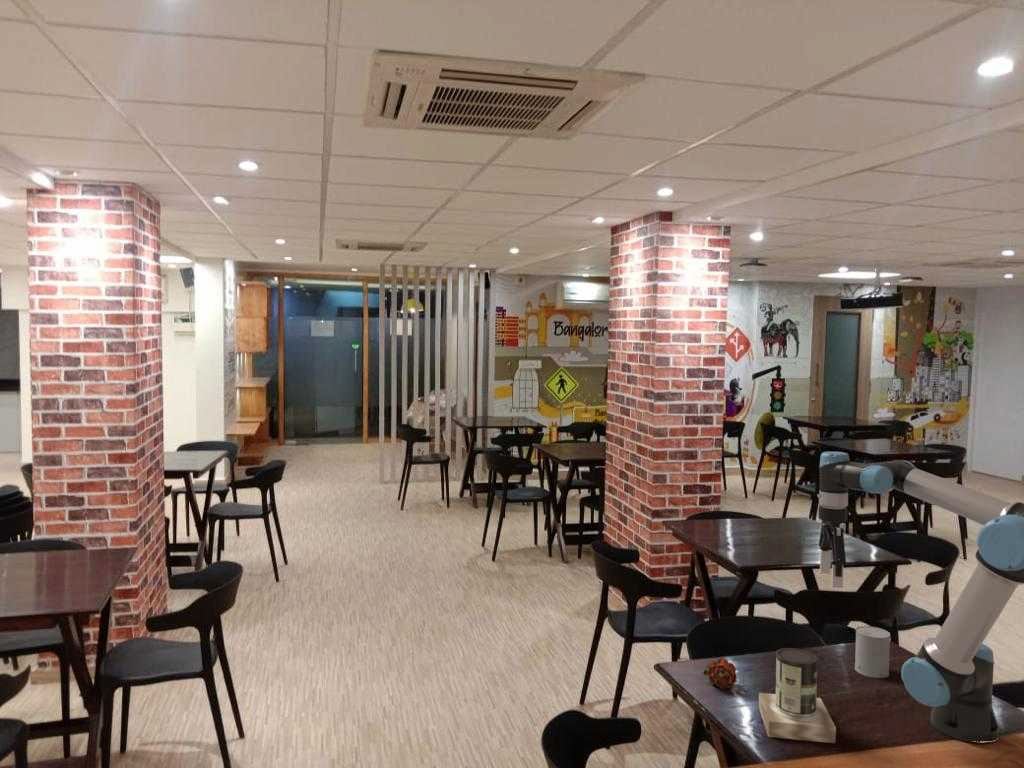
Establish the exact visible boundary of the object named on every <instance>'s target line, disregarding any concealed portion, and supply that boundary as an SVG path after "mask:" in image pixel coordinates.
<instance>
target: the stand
mask: <svg viewBox="0 0 1024 768" xmlns="http://www.w3.org/2000/svg"><path fill="white" fill-rule="evenodd" d="M775 701H776V693H767V692H766V693H764V692H758V710H759V712H760V713H759V714H760V715H761V718H762V721H763V725H764V727H765V730H766V733H767V736H768V737H769V738H775V739H776V738H779V739H786V740H787V739H789V740H797V741H807V742H819V743H830V744H836V742H837V741H836V740H837V739H836V738H837V737H836V734H837V727H836V725H835V722H833V719H832V718H831V715H830V714H829V712H828V710H827V708H826V706H825V704H824V702H823V700H822V698H821V697H816V710H817V712H816V714H815V715H813V716H811V717H795V716H791V715H788V714H785V713H783V712H781V711H779V710H778V709H777V708H776V706H775Z"/></svg>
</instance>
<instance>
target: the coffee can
mask: <svg viewBox="0 0 1024 768" xmlns="http://www.w3.org/2000/svg"><path fill="white" fill-rule="evenodd" d="M775 657H776V658H775V659H776V661H775V694H776V701H775V706H776V708H777V709H778V710H779V711H781V712H783V713H785V714H788V715H791V716H795V717H811V716H813V715H815V714H816V712H817V710H816V698H817V695H818V694H817V692H818V690H817V689H818V688H817V687H818V686H817V684H818V683H817V682H818V663H819V658H818V656H817V655H816V654H814V653H813V652H811V651H808V650H806V649H801V648H795V647H784V648H780V649H777V650H776V651H775Z"/></svg>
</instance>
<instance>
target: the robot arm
mask: <svg viewBox="0 0 1024 768" xmlns="http://www.w3.org/2000/svg"><path fill="white" fill-rule="evenodd" d="M818 468H819V487H818V488H819V489H818V491H819V493H818V494H817V495H816V496H817V498H818V504H819V506H818V515H817V516H818V519H819V520H821V528H820V533H819V540H818V547H819V549H820V554H819V555H820V556H819V557H820V558H819V560H820V561H819V562H820V563H819V574H828V575H829V574H831V588H834V589H835V588H836V589H843V587H844V565H846V564H847V560H846V558H847V557H846V550H845V549H846V547H845V539H844V538H845V537H844V536H845V535H844V533H845V532H844V531H845V530H844V528H843V527H842V528H841V526H840V525H841V523H845V522H846V521H848V508H847V507H849V491H848V490H849V489H851V490H855V491H862V492H865V493H869V494H879V495H885V494H887V493H888V491H890V490H891V489H892V490H893V489H894V490H895V491H899V492H900V493H901V492H902V493H904V494H907V495H909V496H912V497H914V498H916V499H919V500H921V501H924V502H927V503H928V504H930V505H934V506H936V507H938V508H941V509H943V510H946V511H948V512H951V513H953V514H955V515H957V516H961V517H963V518H966V519H967V520H971V521H972V522H975V523H978V524H980V525H982V527H980V530H979V531H978V534H977V537H976V545H977V546H978V547H977V548H978V549H977V551H976V552H975V553H974V554H975V555H974V558H975V560H976V562H977V566H976V567H975V569H974V571H973V572H972V574H971V576H970V577H969V579H968V581H967V583H966V585H965V586H964V588H963V590H962V591H961V593H960V595H959V596H958V599H957V600H956V601H955V604H954V605H953V607H952V609H951V610H950V612H949V614H948V616H947V617H946V619H945V620H944V623H942V625H941V628H940V629H939V631H938V633H937V634H936V637H929V638H926V640H925V641H924V642H923V644H922V646H921V648H920V649H919V651H918V653H917V654H916V655H915V656H914V657H910V658H908V659H907V660H906V661H905V662H904V663H903V664H902V667H901V671H900V672H901V673H900V675H901V680H902V682H903V684H904V685H903V686H904V688H905V689H906V690H907V692H908V693H909V695H910V696H911V697H912V698H913V699H914V700H915V701H917V702H918V703H920V704H922V705H923V706H927V707H931V708H932V710H931V712H930V724H931V725H932V726H933V727H934V728H935V729H936V730H937V731H939V732H940V733H942V734H943V735H946V736H947V737H949V738H950V737H951V738H953V739H956V740H958V741H961V742H962V741H963V742H966V741H976V742H977V741H978V742H980V741H993V740H996V739H997V738H998V737H999V738H1000V727H999V723H998V720H997V717H996V714H995V711H994V708H993V684H994V683H993V682H994V667H995V666H994V665H995V661H994V651H993V649H992V648H991V647H989V646H987V645H986V644H984V641H985V640H986V638H987V636H988V634H989V633H990V632H991V630H992V628H993V627H994V625H995V623H996V622H997V620H998V618H999V616H1000V615H1001V613H1002V612H1003V611H1004V609H1005V607H1006V606H1007V604H1008V602H1009V600H1010V599H1011V597H1012V596H1013V594H1014V593H1015V591H1016V589H1017V588H1018V586H1019V585H1024V502H1020V501H1016V502H1013V503H1011V502H1009V501H1005V500H1004V499H1001V498H998V497H995V496H992V495H990V494H987V493H984V492H981V491H980V490H976V489H973V488H970V487H968V486H965V485H963V484H960V483H957V482H954V481H951V480H948V479H946V478H943V477H941V476H938V475H935V474H933V473H930V472H927V471H924V470H922V469H919V468H917V467H916V466H915V465H914V464H913V462H911V461H909V460H903V459H902V460H901V459H894V460H891V461H881V462H879V461H878V462H869V463H862V462H857V461H851V460H850V456H849V454H848V452H842V451H823V452H822V453H821V454H820V460H819V466H818ZM831 556H832V558H831ZM831 559H832V560H833V561H832V560H831Z"/></svg>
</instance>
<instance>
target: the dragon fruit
mask: <svg viewBox="0 0 1024 768" xmlns="http://www.w3.org/2000/svg"><path fill="white" fill-rule="evenodd" d="M705 668H707V669H703V670H702V674H703V675H704V676H707V677H708V681H709V682H710V683H711V684H712V685H713V686H717V687H718V688H720V689H722V690H726V689H729V688H731V687H732V686H733V685H735V683H737V682H738V677H737V676H738V675H737V673H736V672H737V671H736V670H737V669H736V666H735V665H734V664H733V663H732V662H729V661H728V659H727V658H724V657H719V658H718V659H717V660H715V659H714V660H711V661H710V662H708V664H707V665H706V666H705Z"/></svg>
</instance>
